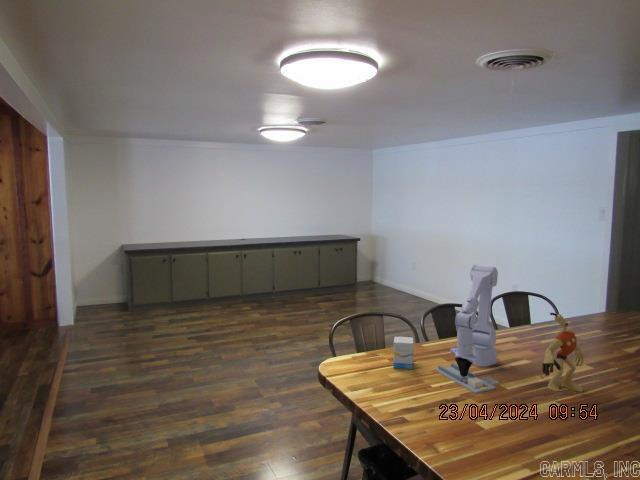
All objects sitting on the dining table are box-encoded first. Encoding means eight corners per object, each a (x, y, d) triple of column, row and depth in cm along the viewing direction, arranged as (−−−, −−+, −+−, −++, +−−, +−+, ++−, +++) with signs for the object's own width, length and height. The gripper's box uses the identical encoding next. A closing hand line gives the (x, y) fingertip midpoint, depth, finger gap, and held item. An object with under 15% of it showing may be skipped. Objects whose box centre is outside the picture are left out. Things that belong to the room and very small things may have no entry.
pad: (488, 380, 177) (488, 376, 177) (499, 386, 172) (499, 382, 171) (478, 382, 175) (478, 378, 175) (489, 388, 170) (490, 384, 169)
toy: (550, 404, 157) (554, 321, 154) (528, 394, 164) (532, 315, 161) (589, 390, 167) (594, 313, 164) (568, 381, 175) (571, 307, 172)
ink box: (413, 369, 188) (413, 343, 187) (393, 368, 190) (393, 342, 189) (413, 362, 196) (413, 337, 195) (393, 361, 198) (394, 335, 197)
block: (476, 376, 171) (483, 381, 167) (475, 386, 171) (482, 391, 168) (467, 378, 170) (474, 382, 166) (467, 388, 170) (474, 392, 166)
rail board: (455, 370, 187) (455, 362, 187) (495, 392, 166) (496, 383, 166) (435, 374, 183) (435, 365, 183) (474, 397, 162) (475, 388, 162)
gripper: (444, 338, 179) (443, 370, 180) (469, 350, 165) (468, 384, 167) (458, 336, 181) (457, 368, 183) (484, 347, 168) (483, 381, 170)
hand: (463, 375), depth 175 cm, fingers closed
